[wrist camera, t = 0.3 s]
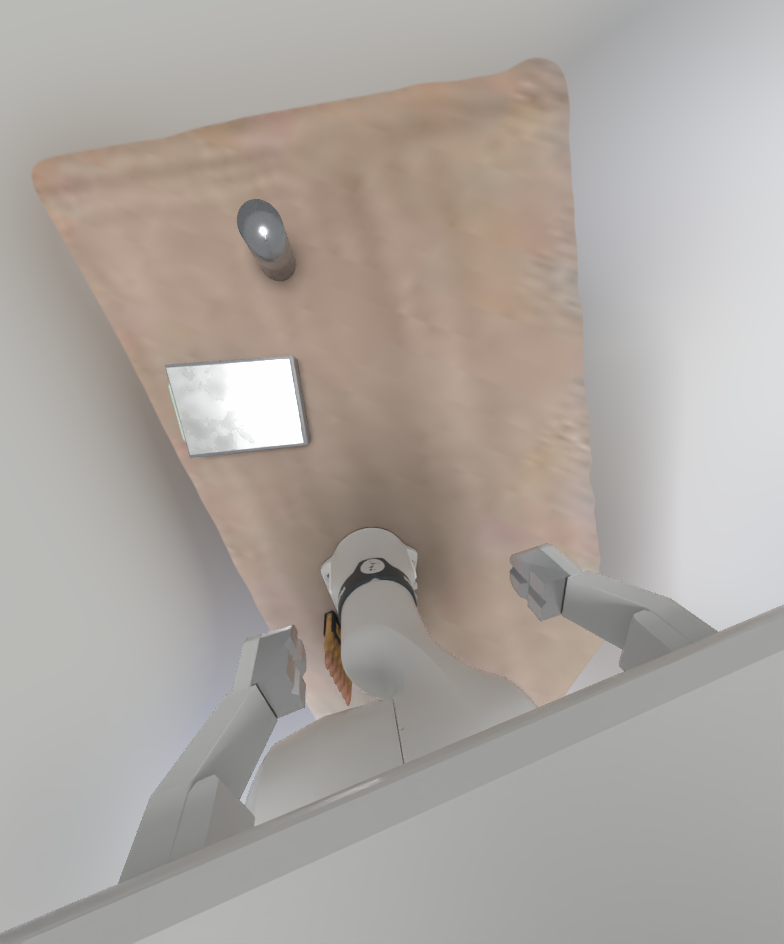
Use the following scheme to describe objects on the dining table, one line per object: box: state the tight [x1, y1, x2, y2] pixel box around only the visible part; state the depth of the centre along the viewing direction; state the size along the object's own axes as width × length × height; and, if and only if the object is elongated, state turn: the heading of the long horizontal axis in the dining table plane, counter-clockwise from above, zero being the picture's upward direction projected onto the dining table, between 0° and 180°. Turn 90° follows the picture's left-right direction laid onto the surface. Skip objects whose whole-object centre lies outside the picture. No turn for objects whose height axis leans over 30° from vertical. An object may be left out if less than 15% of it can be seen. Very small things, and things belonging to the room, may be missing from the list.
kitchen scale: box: [165, 356, 310, 458], centre depth 43 cm, size 13×18×5 cm
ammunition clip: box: [324, 611, 352, 706], centre depth 53 cm, size 11×2×12 cm, turn 20°
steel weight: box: [237, 199, 295, 281], centre depth 37 cm, size 5×5×9 cm
